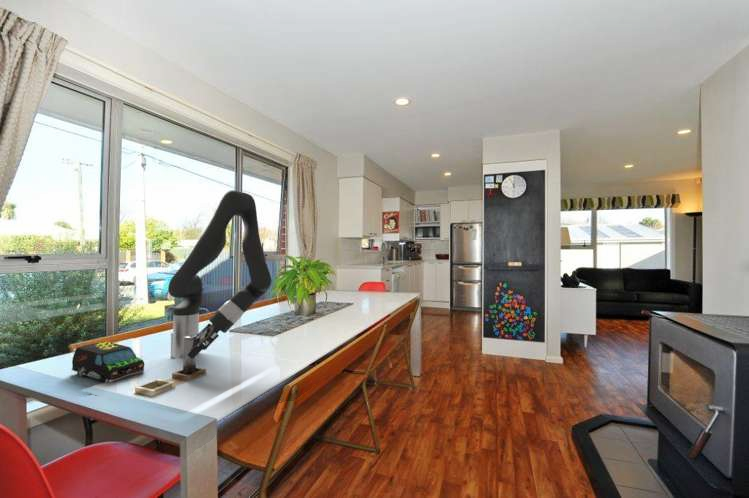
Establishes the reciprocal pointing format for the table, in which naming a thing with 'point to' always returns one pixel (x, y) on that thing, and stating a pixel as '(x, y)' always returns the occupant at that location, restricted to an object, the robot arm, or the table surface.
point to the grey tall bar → (188, 363)
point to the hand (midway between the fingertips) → (189, 353)
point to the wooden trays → (167, 383)
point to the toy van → (106, 362)
